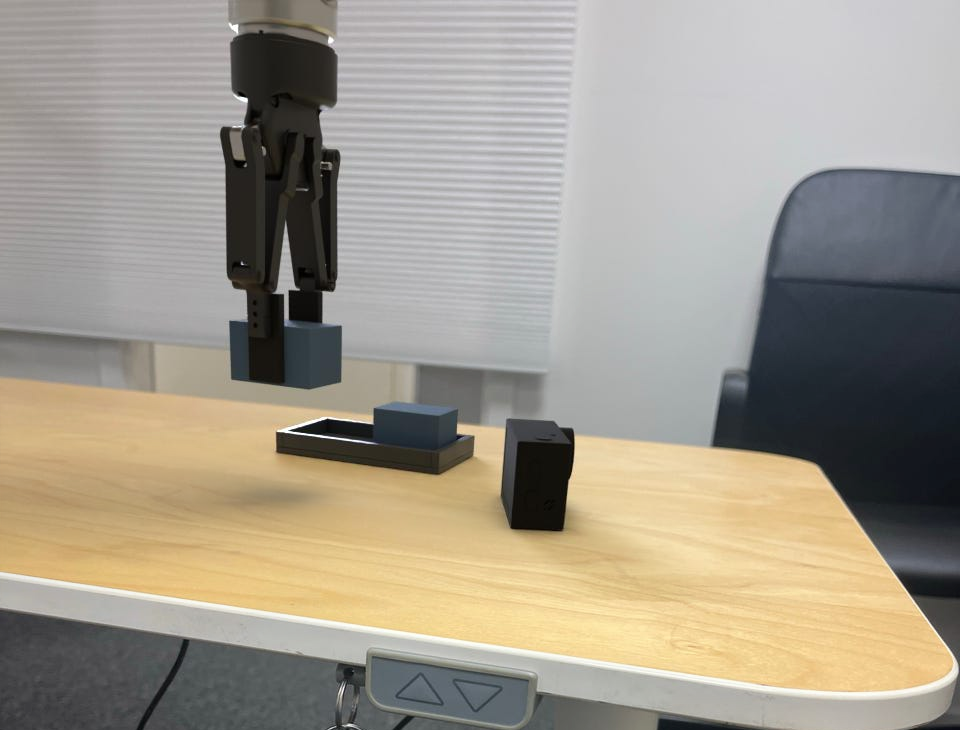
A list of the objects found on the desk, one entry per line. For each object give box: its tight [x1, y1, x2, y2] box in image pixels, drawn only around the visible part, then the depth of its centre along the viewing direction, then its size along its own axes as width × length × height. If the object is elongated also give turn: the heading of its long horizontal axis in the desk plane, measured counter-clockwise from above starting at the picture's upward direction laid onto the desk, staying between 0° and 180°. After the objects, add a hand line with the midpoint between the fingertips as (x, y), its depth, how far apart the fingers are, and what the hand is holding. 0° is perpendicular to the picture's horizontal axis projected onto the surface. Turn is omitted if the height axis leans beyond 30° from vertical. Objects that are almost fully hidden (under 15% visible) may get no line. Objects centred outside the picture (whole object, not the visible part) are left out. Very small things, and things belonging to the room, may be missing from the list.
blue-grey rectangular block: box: [228, 318, 343, 391], centre depth 73 cm, size 7×6×4 cm
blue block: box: [372, 400, 459, 451], centre depth 93 cm, size 7×6×4 cm
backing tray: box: [275, 416, 476, 475], centre depth 95 cm, size 18×11×2 cm, turn 72°
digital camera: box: [500, 417, 576, 531], centre depth 76 cm, size 10×5×7 cm, turn 3°
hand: (287, 376), depth 74 cm, fingers closed on blue-grey rectangular block, 5 cm apart
